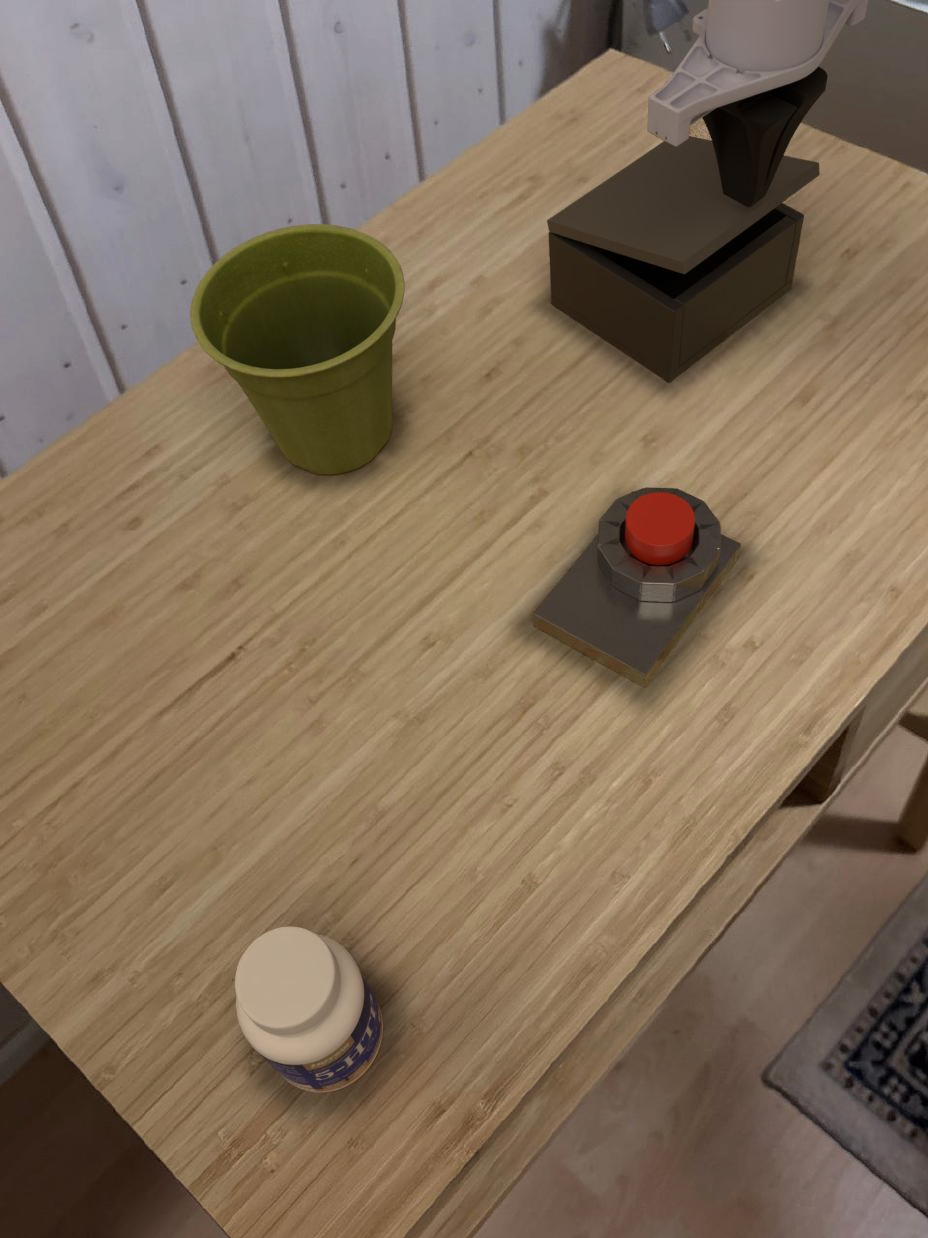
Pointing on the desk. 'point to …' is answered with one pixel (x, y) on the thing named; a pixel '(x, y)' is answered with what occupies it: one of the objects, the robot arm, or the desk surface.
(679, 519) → the button
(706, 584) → the button block
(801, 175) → the lid
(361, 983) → the pill bottle
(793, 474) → the desk surface
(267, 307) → the plant pot
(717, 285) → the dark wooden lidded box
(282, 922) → the desk surface
